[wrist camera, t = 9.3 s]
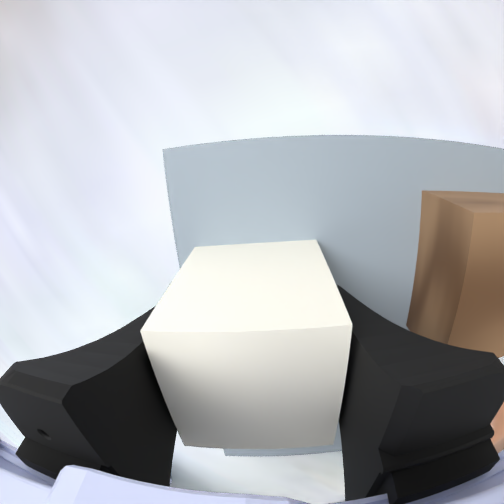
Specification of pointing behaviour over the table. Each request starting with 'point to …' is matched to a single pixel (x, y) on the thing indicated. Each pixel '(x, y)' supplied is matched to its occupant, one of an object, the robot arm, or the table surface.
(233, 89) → the table surface
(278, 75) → the table surface
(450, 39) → the table surface
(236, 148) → the building board
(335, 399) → the cream block
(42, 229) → the table surface
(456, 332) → the walnut base block
